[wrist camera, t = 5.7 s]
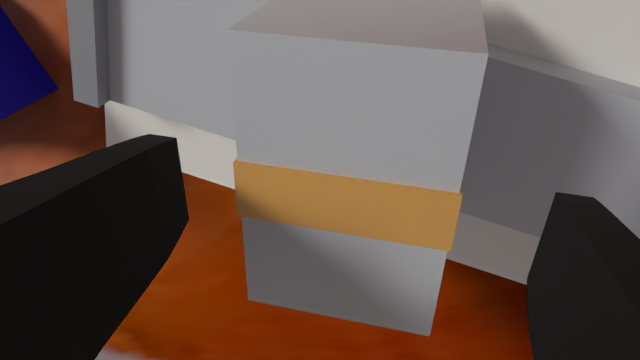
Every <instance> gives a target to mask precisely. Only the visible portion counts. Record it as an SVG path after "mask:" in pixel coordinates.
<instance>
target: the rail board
mask: <svg viewBox="0 0 640 360" xmlns="http://www.w3.org/2000/svg"><path fill="white" fill-rule="evenodd" d="M269 1H270V0H66V5H67V18H68V31H69V44H70V57H71V69H72V82H73V95H74V100H75V101H78V102H81V103H84V104H87V105H90V106H93V107H96V108H99V107H101V106H102V105H104V104H105V128H106V147H109V146H111V145H114V144H117V143H120V142H123V141H126V140H129V139H132V138H135V137H139V136H143V135H147V134H153V135H160V136H167V137H174V138H177V144H178V151H179V157H180V164H181V170H182V172H183V173H186V174H190V175H193V176H196V177H199V178H202V179H205V180H208V181H211V182H214V183H217V184H220V185H223V186H226V187H229V188H232V189H235V182H234V170H233V162H234V161H235V160H236V158H237V148H236V135H235V122H234V109H233V97H232V84H231V71H230V58H229V45H228V32H227V30H228V29H229V28H231V27H232V26H233V25H235V24H236V23H238V22H239V21H241V20H242V19H244V18H245V17H247V16H248V15H250V14H251V13H252V12H254V11H255V10H257V9H258V8H260V7H261V6H263V5H264V4H266V3H267V2H269ZM481 7H482V13H483V20H484V27H485V34H486V40H487V47H488V59H487V64H486V69H485V74H484V78H483V83H482V88H481V93H480V97H479V102H478V107H477V112H476V117H475V121H474V126H473V131H472V136H471V141H470V145H469V150H468V155H467V160H466V165H465V169H464V174H463V197H462V202H461V206H460V211H459V216H458V221H457V225H456V230H455V235H454V239H453V244H452V249H451V251H447V256H446V259H449V260H452V261H455V262H458V263H461V264H464V265H467V266H471V267H474V268H477V269H480V270H483V271H486V272H489V273H492V274H495V275H498V276H501V277H504V278H507V279H510V280H513V281H516V282H519V283H522V284H525V285H527V277H528V274H529V271H530V268H531V265H532V262H533V259H534V256H535V253H536V250H537V247H538V244H539V241H540V238H541V235H542V232H543V229H544V226H545V223H546V220H547V217H548V214H549V211H550V208H551V205H552V202H553V199H554V196H555V193H556V192H560V193H567V194H574V195H581V196H588V197H594V198H595V199H597V200H598V201H599V202H600V203H601V204H603V205H604V206H605V207H606V208H607V209H608V210H609V211H610V212H612V213H613V214H614V215H615V216H616V217H617V218H618V219H619V220H620V221H621V222H622V223H623V224H624V225H625V226H626V227H628V228H629V229H630V230H631V231H632V232H633V233H634V234H635V235H636V236H637V237H638V238H639V239H640V0H481Z"/></svg>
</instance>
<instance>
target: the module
mask: <svg viewBox="0 0 640 360" xmlns="http://www.w3.org/2000/svg"><path fill="white" fill-rule="evenodd" d="M227 32H228V45H229V58H230V71H231V84H232V97H233V109H234V122H235V135H236V148H237V158H236V160H235V161H234V162H233V170H234V182H235V194H236V206H237V216H242V225H243V238H244V251H245V264H246V276H247V289H248V300H251V301H256V302H261V303H266V304H271V305H276V306H281V307H286V308H291V309H296V310H301V311H306V312H311V313H316V314H321V315H326V316H331V317H336V318H341V319H346V320H351V321H356V322H361V323H366V324H371V325H376V326H381V327H386V328H391V329H396V330H401V331H405V332H410V333H415V334H420V335H425V336H430V332H431V327H432V323H433V318H434V313H435V308H436V303H437V299H438V294H439V289H440V284H441V280H442V275H443V270H444V265H445V260H446V256H447V251H451V249H452V244H453V239H454V235H455V230H456V225H457V221H458V216H459V211H460V206H461V202H462V197H463V174H464V169H465V165H466V160H467V155H468V150H469V145H470V141H471V136H472V131H473V126H474V121H475V117H476V112H477V107H478V102H479V97H480V93H481V88H482V83H483V78H484V74H485V69H486V64H487V59H488V47H487V40H486V34H485V27H484V20H483V13H482V7H481V0H270V1H269V2H267V3H266V4H264V5H263V6H261V7H260V8H258V9H257V10H255V11H254V12H252V13H251V14H250V15H248V16H247V17H245V18H244V19H242V20H241V21H239V22H238V23H236V24H235V25H233V26H232V27H231V28H229V29H228V30H227Z"/></svg>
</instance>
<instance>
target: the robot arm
mask: <svg viewBox="0 0 640 360" xmlns="http://www.w3.org/2000/svg"><path fill="white" fill-rule="evenodd" d="M188 220H189V216H188V210H187V203H186V197H185V190H184V183H183V177H182V170H181V164H180V157H179V151H178V144H177V138H174V137H167V136H160V135H153V134H147V135H143V136H139V137H135V138H132V139H129V140H126V141H123V142H120V143H117V144H114V145H111V146H109V147H106V148H103V149H100V150H98V151H95V152H92V153H90V154H87V155H84V156H82V157H79V158H76V159H74V160H71V161H68V162H66V163H63V164H60V165H58V166H55V167H52V168H50V169H47V170H44V171H41V172H39V173H36V174H33V175H30V176H27V177H24V178H21V179H18V180H15V181H12V182H10V183H7V184H4V185H1V186H0V360H94V359H95V358H96V357H97V355H98V354H99V352H100V351H101V349H102V348H103V346H104V345H105V344H106V342H107V341H108V340H109V338H110V337H111V336H112V334H113V333H114V332H115V330H116V329H117V328H118V326H119V325H120V324H121V322H122V321H123V320H124V318H125V317H126V316H127V314H128V313H129V312H130V310H131V309H132V307H133V306H134V305H135V303H136V302H137V301H138V299H139V298H140V297H141V295H142V294H143V293H144V291H145V290H146V289H147V287H148V286H149V285H150V283H151V282H152V280H153V279H154V278H155V276H156V275H157V274H158V272H159V271H160V269H161V268H162V267H163V265H164V264H165V262H166V261H167V260H168V258H169V256H170V254H171V253H172V251H173V249H174V247H175V245H176V244H177V242H178V240H179V238H180V236H181V234H182V232H183V230H184V228H185V226H186V224H187V222H188ZM527 304H528V324H529V333H530V339H531V345H532V351H533V356H534V360H640V239H639V238H638V237H637V236H636V235H635V234H634V233H633V232H632V231H631V230H630V229H629V228H628V227H626V226H625V225H624V224H623V223H622V222H621V221H620V220H619V219H618V218H617V217H616V216H615V215H614V214H613V213H612V212H610V211H609V210H608V209H607V208H606V207H605V206H604V205H603V204H601V203H600V202H599V201H598V200H597V199H595V198H594V197H588V196H581V195H574V194H567V193H560V192H556V193H555V196H554V199H553V202H552V205H551V208H550V211H549V214H548V217H547V220H546V223H545V226H544V229H543V232H542V235H541V238H540V241H539V244H538V247H537V250H536V253H535V256H534V259H533V262H532V265H531V268H530V271H529V274H528V277H527Z"/></svg>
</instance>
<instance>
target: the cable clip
mask: <svg viewBox="0 0 640 360" xmlns="http://www.w3.org/2000/svg"><path fill="white" fill-rule="evenodd" d="M57 89H58V87H57V86H56V85H55V83H54V82H53V80H52V79H51V78H50V76H49V75H48V73H47V72H46V70H45V69H44V68H43V66H42V65H41V63H40V62H39V61H38V59H37V58H36V56H35V55H34V53H33V52H32V51H31V49H30V48H29V46H28V45H27V43H26V42H25V41H24V39H23V38H22V36H21V35H20V34H19V32H18V31H17V29H16V28H15V26H14V25H13V24H12V22H11V21H10V19H9V18H8V17H7V15H6V14H5V12H4V11H3V9H2V8H1V7H0V120H2V119H4V118H6V117H7V116H9V115H11V114H13V113H15V112H17V111H18V110H20V109H22V108H24V107H26V106H28V105H29V104H31V103H33V102H35V101H37V100H38V99H40V98H42V97H44V96H46V95H48V94H49V93H51V92H53V91H55V90H57Z"/></svg>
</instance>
